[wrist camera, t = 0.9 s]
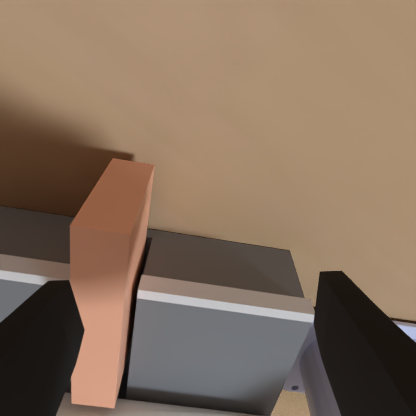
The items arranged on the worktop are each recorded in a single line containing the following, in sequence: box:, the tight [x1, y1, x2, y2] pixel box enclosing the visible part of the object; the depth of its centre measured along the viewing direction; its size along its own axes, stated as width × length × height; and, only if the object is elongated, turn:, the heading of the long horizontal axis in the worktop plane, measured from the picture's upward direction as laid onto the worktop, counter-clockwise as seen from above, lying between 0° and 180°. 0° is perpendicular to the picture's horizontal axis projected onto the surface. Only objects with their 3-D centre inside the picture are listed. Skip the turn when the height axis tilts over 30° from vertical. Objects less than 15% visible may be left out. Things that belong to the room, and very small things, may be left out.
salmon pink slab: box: [70, 158, 155, 408], centre depth 17 cm, size 2×10×6 cm, turn 170°
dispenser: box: [0, 206, 315, 416], centre depth 20 cm, size 19×14×10 cm
